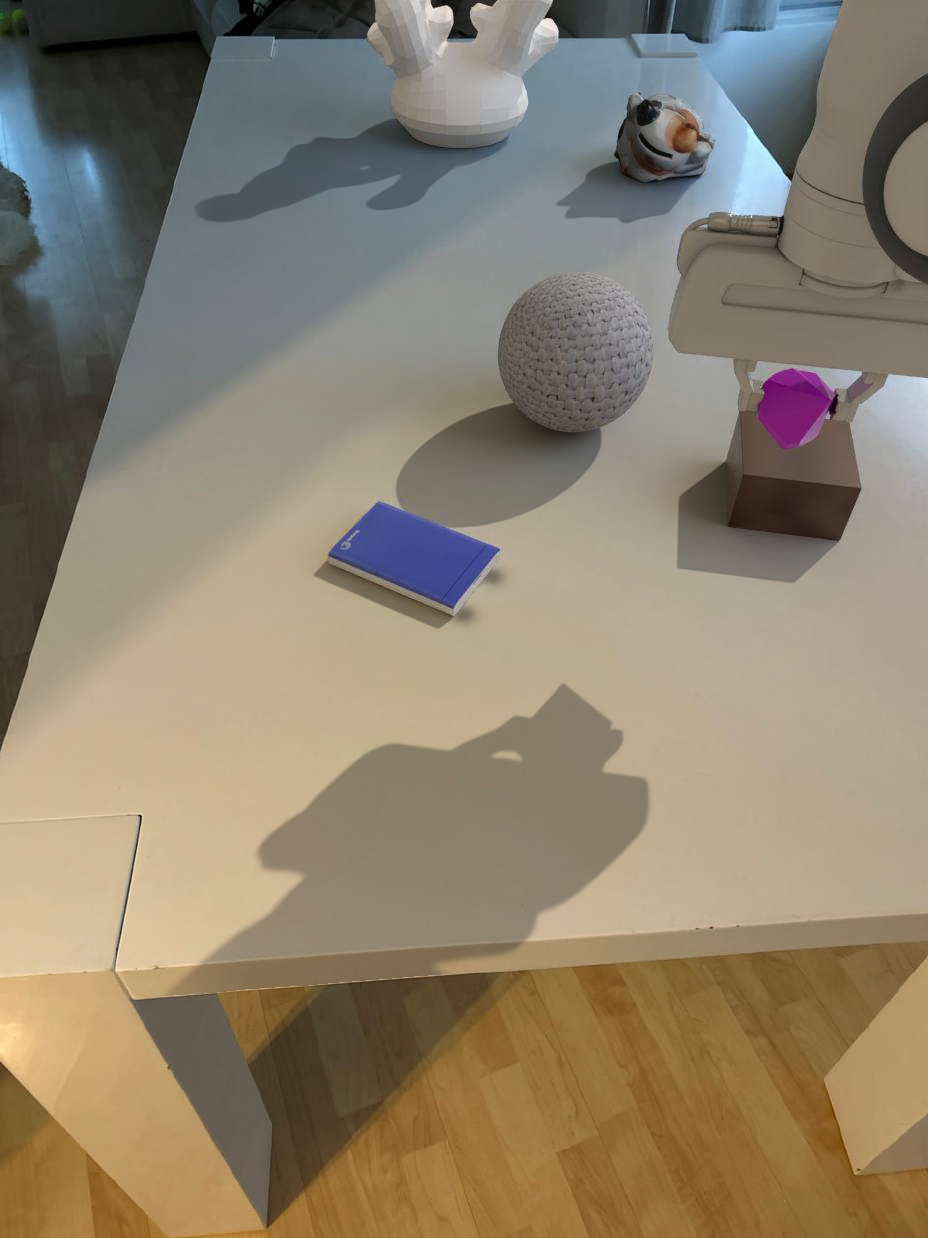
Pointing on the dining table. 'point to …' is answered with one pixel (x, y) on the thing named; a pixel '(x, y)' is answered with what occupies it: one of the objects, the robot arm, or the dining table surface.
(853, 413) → the robot arm
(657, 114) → the lucky cat figurine
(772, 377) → the crystal
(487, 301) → the dining table surface
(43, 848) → the dining table surface
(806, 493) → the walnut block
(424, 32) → the vase
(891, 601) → the dining table surface
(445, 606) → the hard drive
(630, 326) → the decorative ball
